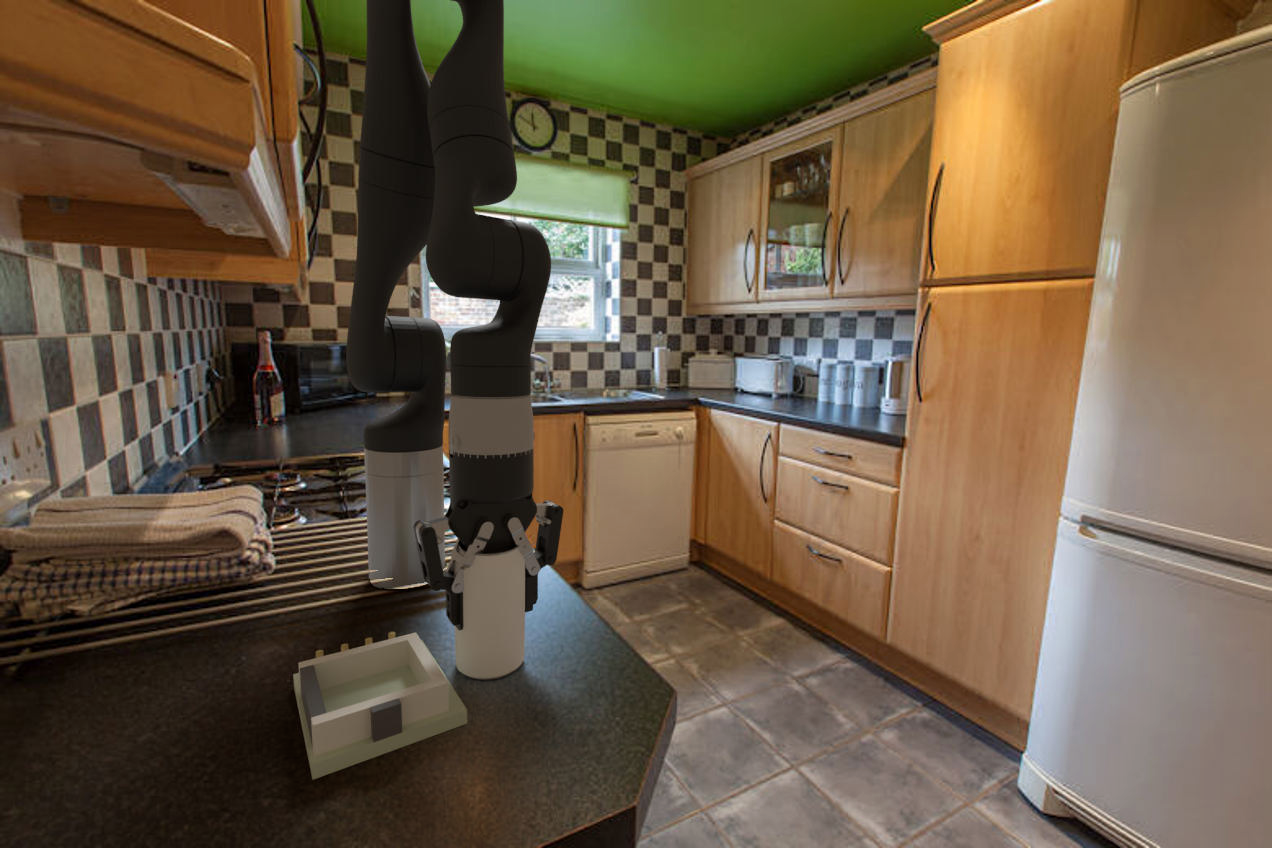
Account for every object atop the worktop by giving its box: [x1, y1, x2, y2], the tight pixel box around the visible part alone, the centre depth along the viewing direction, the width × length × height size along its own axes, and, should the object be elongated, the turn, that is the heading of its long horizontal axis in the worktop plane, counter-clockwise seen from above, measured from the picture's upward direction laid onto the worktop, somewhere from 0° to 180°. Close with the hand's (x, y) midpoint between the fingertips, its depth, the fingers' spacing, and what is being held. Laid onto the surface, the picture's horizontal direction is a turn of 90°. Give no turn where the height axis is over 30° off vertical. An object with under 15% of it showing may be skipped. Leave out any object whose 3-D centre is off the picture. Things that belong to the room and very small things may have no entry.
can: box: [454, 544, 526, 681], centre depth 54 cm, size 6×6×12 cm
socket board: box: [292, 631, 468, 781], centre depth 48 cm, size 13×11×4 cm
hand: (493, 616), depth 55 cm, fingers closed on can, 6 cm apart
